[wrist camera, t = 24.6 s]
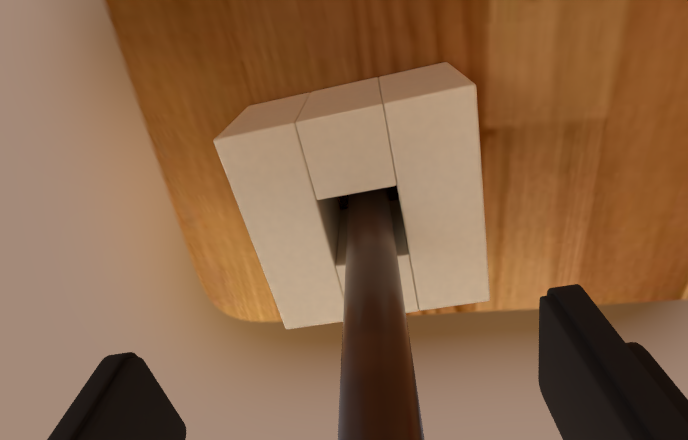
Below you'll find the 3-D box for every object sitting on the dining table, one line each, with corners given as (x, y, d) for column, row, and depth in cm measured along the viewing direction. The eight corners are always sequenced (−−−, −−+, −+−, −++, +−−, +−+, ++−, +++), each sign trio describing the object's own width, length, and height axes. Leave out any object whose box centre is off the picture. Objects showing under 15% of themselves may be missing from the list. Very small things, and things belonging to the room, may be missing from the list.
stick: (353, 199, 21) (345, 567, 8) (345, 167, 20) (322, 518, 7) (388, 193, 20) (443, 560, 7) (382, 160, 19) (432, 509, 6)
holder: (300, 265, 23) (285, 330, 18) (247, 105, 18) (211, 140, 14) (464, 239, 21) (490, 301, 17) (447, 61, 17) (476, 83, 13)
